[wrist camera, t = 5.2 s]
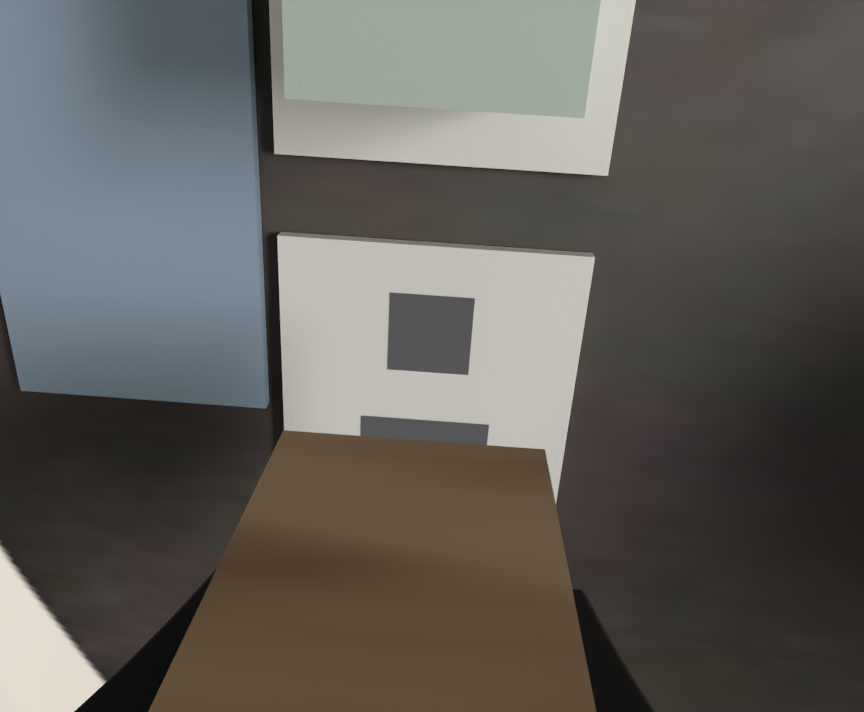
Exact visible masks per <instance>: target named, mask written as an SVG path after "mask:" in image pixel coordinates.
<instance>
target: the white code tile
mask: <svg viewBox="0 0 864 712" xmlns="http://www.w3.org/2000/svg"><path fill="white" fill-rule="evenodd" d="M277 244H278V273H279V301H280V329H281V358H282V386H283V415H284V430H287V431H301V432H314V433H328V434H342V435H355V436H369V437H382V438H396V439H410V440H423V441H437V442H451V443H464V444H478V445H492V446H505V447H519V448H533V449H545V453H546V458H547V463H548V468H549V473H550V478H551V483H552V488H553V493H554V499H555V504H556V500H557V494H558V487H559V481H560V475H561V469H562V462H563V456H564V450H565V443H566V437H567V431H568V424H569V418H570V412H571V405H572V399H573V393H574V387H575V380H576V374H577V368H578V361H579V355H580V349H581V342H582V336H583V330H584V323H585V317H586V311H587V305H588V298H589V292H590V286H591V279H592V273H593V267H594V260H595V256H594V255H593V253H587V252H572V251H558V250H543V249H528V248H513V247H499V246H484V245H469V244H455V243H440V242H425V241H410V240H396V239H381V238H366V237H351V236H337V235H322V234H307V233H293V232H280V233H279V234H278V235H277Z"/></svg>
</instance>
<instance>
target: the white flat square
mask: <svg viewBox="0 0 864 712" xmlns="http://www.w3.org/2000/svg"><path fill="white" fill-rule="evenodd" d="M635 2H636V0H601V2H600V9H599V16H598V24H597V31H596V38H595V45H594V52H593V59H592V66H591V74H590V81H589V88H588V95H587V102H586V109H585V116H584V118H571V117H556V116H540V115H525V114H509V113H494V112H478V111H463V110H447V109H432V108H416V107H401V106H385V105H370V104H354V103H338V102H323V101H307V100H292V99H285V95H284V60H283V25H282V0H269V17H270V45H271V74H272V102H273V131H274V154H283V155H298V156H313V157H328V158H344V159H359V160H374V161H389V162H404V163H419V164H435V165H450V166H465V167H480V168H495V169H511V170H526V171H541V172H556V173H571V174H586V175H602V176H608V172H609V166H610V160H611V153H612V147H613V141H614V134H615V128H616V122H617V115H618V109H619V103H620V96H621V90H622V84H623V78H624V71H625V65H626V59H627V52H628V46H629V40H630V33H631V27H632V21H633V14H634V8H635Z"/></svg>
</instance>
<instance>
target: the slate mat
mask: <svg viewBox="0 0 864 712" xmlns="http://www.w3.org/2000/svg"><path fill="white" fill-rule="evenodd" d="M0 295H1V299H2V304H3V309H4V314H5V318H6V323H7V328H8V333H9V338H10V342H11V347H12V352H13V357H14V361H15V366H16V371H17V376H18V381H19V385H20V390H21V391H31V392H45V393H59V394H73V395H87V396H100V397H114V398H128V399H142V400H156V401H169V402H183V403H197V404H211V405H224V406H238V407H252V408H266V407H267V405H268V403H269V382H268V360H267V337H266V314H265V292H264V269H263V247H262V224H261V202H260V179H259V157H258V134H257V112H256V89H255V66H254V44H253V21H252V0H0Z"/></svg>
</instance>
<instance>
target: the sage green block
mask: <svg viewBox="0 0 864 712" xmlns="http://www.w3.org/2000/svg"><path fill="white" fill-rule="evenodd" d="M600 2H601V0H282V25H283V60H284V95H285V99H292V100H307V101H323V102H338V103H354V104H370V105H385V106H401V107H416V108H432V109H447V110H463V111H478V112H494V113H509V114H525V115H540V116H556V117H571V118H584V116H585V109H586V102H587V95H588V88H589V81H590V74H591V66H592V59H593V52H594V45H595V38H596V31H597V24H598V16H599V9H600Z"/></svg>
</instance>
